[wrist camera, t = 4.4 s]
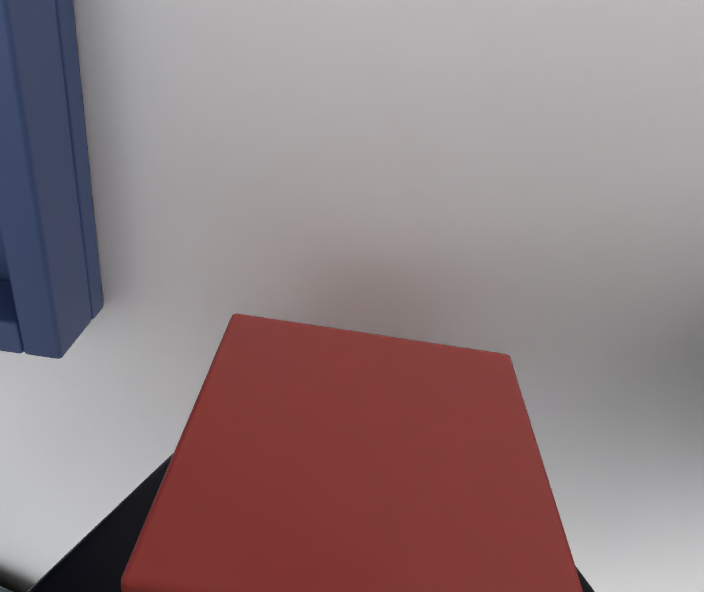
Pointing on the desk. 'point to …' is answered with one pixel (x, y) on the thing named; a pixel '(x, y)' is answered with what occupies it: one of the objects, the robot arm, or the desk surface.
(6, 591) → the loafer
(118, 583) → the robot arm
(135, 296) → the desk surface
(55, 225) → the blue tray
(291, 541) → the red block
